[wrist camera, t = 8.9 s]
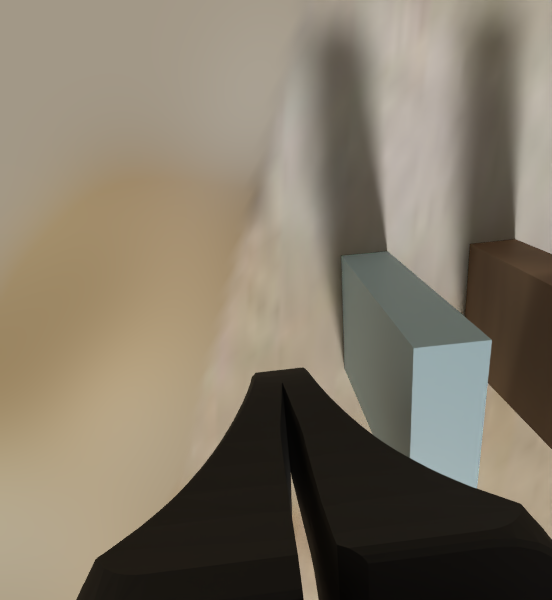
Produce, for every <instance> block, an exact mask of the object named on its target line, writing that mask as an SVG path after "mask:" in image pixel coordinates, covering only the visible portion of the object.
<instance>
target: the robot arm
mask: <svg viewBox="0 0 552 600" xmlns="http://www.w3.org/2000/svg"><path fill="white" fill-rule="evenodd" d="M291 475H292V480H293V484H294V488H295V492H296V496H297V500H298V504H299V508H300V512H301V516H302V520H303V524H304V528H305V532H306V536H307V540H308V544H309V548H310V552H311V557H312V562H313V567H314V572H315V578H316V585H317V591H318V598H319V600H552V539H551V538H550V537H549V536H548V534H547V533H546V532H545V531H544V529H543V528H542V527H541V526H540V525H539V524H538V523H537V521H536V520H535V519H534V518H533V517H532V516H531V515H530V514H529V513H528V512H527V510H526V509H525V508H524V507H523V506H522V505H521V504H520V503H517V502H514V501H511V500H508V499H505V498H502V497H499V496H496V495H494V494H491V493H488V492H485V491H482V490H479V489H476V488H473V487H471V486H468V485H466V484H463V483H461V482H459V481H456V480H454V479H452V478H449V477H447V476H445V475H443V474H440V473H438V472H436V471H434V470H432V469H430V468H428V467H426V466H424V465H422V464H420V463H418V462H416V461H415V460H413V459H411V458H409V457H407V456H405V455H404V454H402V453H400V452H398V451H397V450H395V449H393V448H392V447H390V446H389V445H387V444H386V443H384V442H383V441H381V440H380V439H378V438H377V437H375V436H374V435H372V434H371V433H370V432H368V431H367V430H366V429H364V428H363V427H362V426H361V425H360V424H358V423H357V422H356V421H355V420H354V419H352V418H351V417H350V416H349V415H348V414H347V413H346V412H345V411H344V410H342V409H341V408H340V407H339V406H338V405H337V404H336V403H335V402H334V401H333V400H332V399H331V398H330V397H329V396H328V395H327V394H326V392H325V391H324V390H323V389H322V388H321V387H320V386H319V385H318V383H317V382H316V381H315V380H314V379H313V377H312V376H311V375H310V374H309V372H308V371H307V370H306V369H305V368H295V369H286V370H277V371H268V372H259V373H255V374H254V375H253V377H252V379H251V383H250V386H249V389H248V392H247V394H246V396H245V399H244V401H243V403H242V405H241V407H240V409H239V411H238V413H237V415H236V417H235V419H234V421H233V422H232V424H231V426H230V427H229V429H228V431H227V432H226V434H225V436H224V437H223V439H222V440H221V442H220V443H219V445H218V446H217V448H216V449H215V451H214V452H213V453H212V455H211V456H210V457H209V459H208V460H207V461H206V463H205V464H204V465H203V466H202V468H201V469H200V470H199V471H198V472H197V473H196V475H195V476H194V477H193V478H192V479H191V480H190V481H189V483H188V484H187V485H186V486H185V487H184V488H183V489H182V490H181V491H180V492H179V493H178V494H177V495H176V496H175V497H174V498H173V499H172V500H171V501H170V502H169V503H168V504H167V505H166V506H164V507H163V508H162V509H161V510H160V511H159V512H158V513H156V514H155V515H154V516H153V517H152V518H150V519H149V520H148V521H147V522H146V523H144V524H143V525H142V526H141V527H139V528H138V529H137V530H135V531H134V532H133V533H131V534H130V535H129V536H127V537H126V538H124V539H123V540H122V541H120V542H119V543H118V544H116V545H115V546H113V547H112V548H111V549H109V550H108V551H107V552H105V553H104V554H102V555H101V556H99V557H98V558H97V559H96V560H95V562H94V564H93V566H92V568H91V570H90V572H89V574H88V576H87V579H86V581H85V583H84V584H83V586H82V589H81V591H80V593H79V595H78V597H77V600H303V591H302V583H301V576H300V568H299V560H298V553H297V547H296V541H295V535H294V528H293V522H292V500H291Z"/></svg>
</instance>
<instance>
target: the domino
mask: <svg viewBox="0 0 552 600" xmlns="http://www.w3.org/2000/svg"><path fill="white" fill-rule="evenodd" d="M465 317H466V318H467V319H468V320H469V321H470V322H471V323H473V324H474V325H475V326H476V327H477V328H479V329H480V330H481V331H482V332H483V333H484V334H486V335H487V336H488V337H489V338H490V339H492V345H491V355H490V365H489V375H488V384H489V385H490V386H491V387H492V388H493V389H494V390H495V391H496V392H497V393H498V394H499V395H500V396H501V397H502V398H503V399H504V400H505V401H506V402H507V403H508V404H509V405H510V406H511V407H512V408H513V409H514V411H515V412H516V413H517V414H518V415H519V416H520V417H521V418H522V419H523V420H524V421H525V422H526V423H527V424H528V425H529V426H530V427H531V428H532V429H533V430H534V431H535V432H536V433H537V434H538V435H539V436H540V437H541V439H542V440H543V441H544V442H545V443H546V444H547V445H548V446H549V447H550V448H551V449H552V254H550V253H547V252H545V251H543V250H540V249H538V248H535V247H533V246H530V245H528V244H525V243H523V242H521V241H518V240H516V239H512V240H503V241H493V242H484V243H474V244H470V251H469V266H468V280H467V295H466V310H465Z"/></svg>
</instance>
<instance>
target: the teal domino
mask: <svg viewBox="0 0 552 600" xmlns="http://www.w3.org/2000/svg"><path fill="white" fill-rule="evenodd" d="M341 262H342V297H343V333H344V368H345V371H346V373H347V375H348V378H349V380H350V382H351V385H352V387H353V389H354V392H355V394H356V396H357V399H358V401H359V403H360V406H361V408H362V410H363V413H364V415H365V417H366V420H367V422H368V424H369V427H370V429H371V431H372V433H373V435H374V436H375V437H377V438H378V439H380V440H381V441H383V442H384V443H386V444H387V445H389V446H390V447H392V448H393V449H395V450H397V451H398V452H400V453H402V454H404V455H405V456H407V457H409V458H411V459H413V460H415V461H416V462H418V463H420V464H422V465H424V466H426V467H428V468H430V469H432V470H434V471H436V472H438V473H440V474H443V475H445V476H447V477H449V478H452V479H454V480H456V481H459V482H461V483H463V484H466V485H468V486H471V487H473V488H476V489H477V483H478V473H479V464H480V454H481V444H482V434H483V424H484V414H485V404H486V394H487V385H488V375H489V365H490V355H491V345H492V339H490V338H489V337H488V336H487V335H486V334H484V333H483V332H482V331H481V330H480V329H479V328H477V327H476V326H475V325H474V324H473V323H471V322H470V321H469V320H468V319H467V318H466V317H464V316H463V315H462V314H461V313H460V312H459V311H457V310H456V309H455V308H454V307H453V306H451V305H450V304H449V303H448V302H447V301H446V300H444V299H443V298H442V297H441V296H440V295H438V294H437V293H436V292H435V291H434V290H433V289H431V288H430V287H429V286H428V285H427V284H426V283H424V282H423V281H422V280H421V279H420V278H418V277H417V276H416V275H415V274H414V273H413V272H411V271H410V270H409V269H408V268H407V267H405V266H404V265H403V264H402V263H401V262H400V261H398V260H397V259H396V258H395V257H394V256H392V255H391V254H390V253H389V252H388V251H384V252H374V253H364V254H353V255H343V256H341Z"/></svg>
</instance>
